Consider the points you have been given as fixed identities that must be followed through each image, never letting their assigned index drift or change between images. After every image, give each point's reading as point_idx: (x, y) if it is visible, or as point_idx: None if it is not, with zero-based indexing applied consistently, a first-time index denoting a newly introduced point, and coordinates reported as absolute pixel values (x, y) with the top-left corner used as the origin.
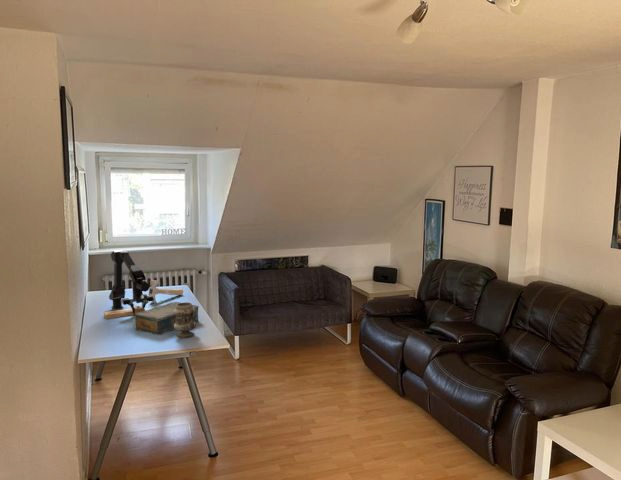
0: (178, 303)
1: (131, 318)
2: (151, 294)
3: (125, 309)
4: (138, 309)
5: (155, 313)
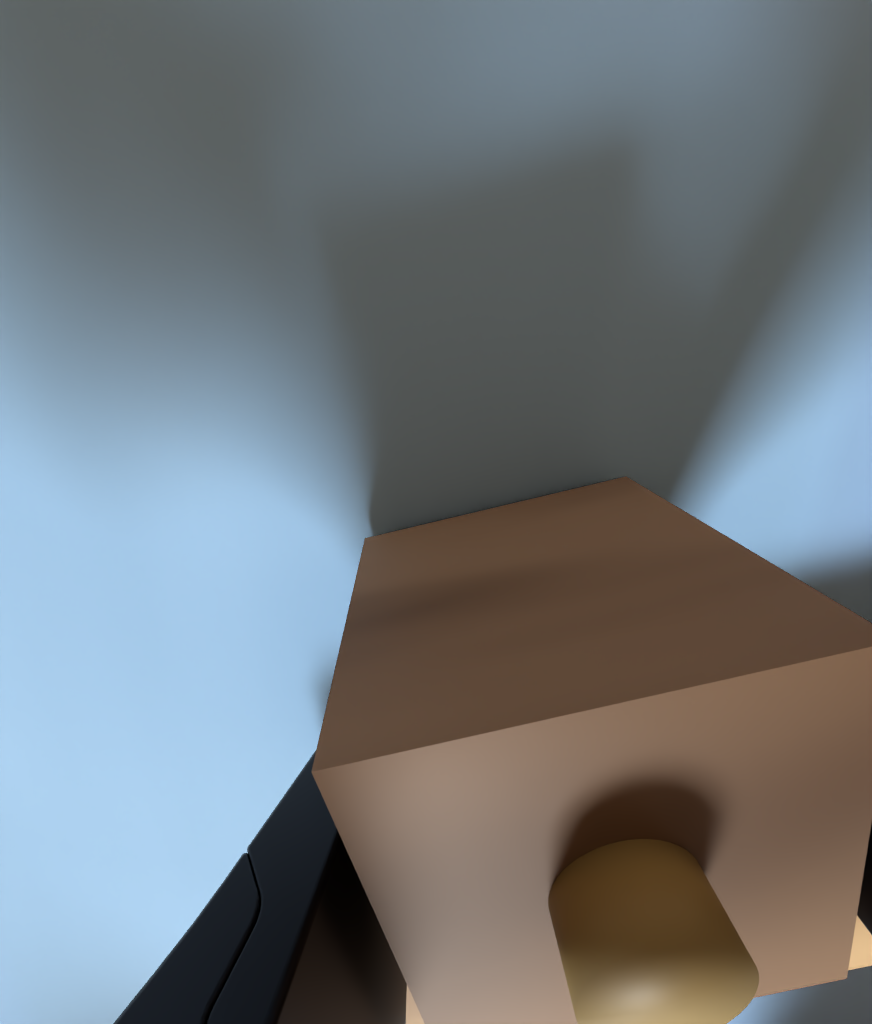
0: None
1: (773, 291)
2: None
3: (862, 959)
4: (607, 636)
5: None
